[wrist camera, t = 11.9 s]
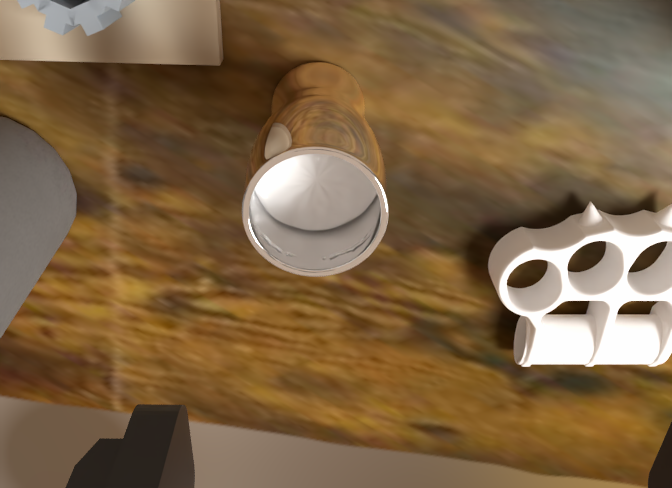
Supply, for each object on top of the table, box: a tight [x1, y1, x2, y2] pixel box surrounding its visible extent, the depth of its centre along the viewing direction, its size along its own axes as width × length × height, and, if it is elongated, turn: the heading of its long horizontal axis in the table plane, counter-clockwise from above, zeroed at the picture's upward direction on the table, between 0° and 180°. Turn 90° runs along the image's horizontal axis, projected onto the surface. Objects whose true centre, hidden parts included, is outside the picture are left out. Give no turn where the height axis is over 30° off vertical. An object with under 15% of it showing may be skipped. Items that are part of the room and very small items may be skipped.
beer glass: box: [242, 62, 388, 277], centre depth 34 cm, size 7×7×15 cm
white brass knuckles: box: [488, 201, 672, 367], centre depth 47 cm, size 3×18×15 cm
